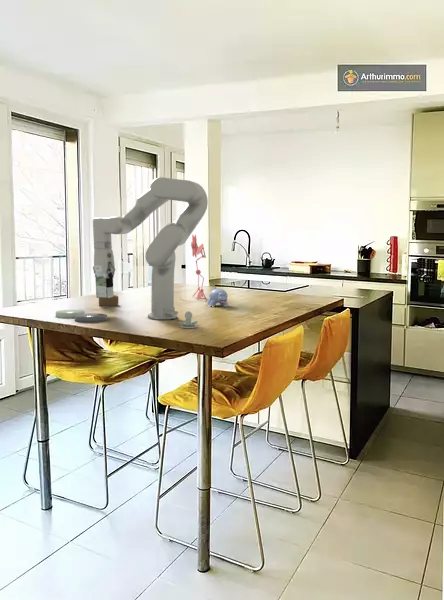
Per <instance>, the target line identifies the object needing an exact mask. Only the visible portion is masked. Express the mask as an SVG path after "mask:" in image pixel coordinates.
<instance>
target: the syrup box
mask: <svg viewBox="0 0 444 600" xmlns="http://www.w3.org/2000/svg"><path fill="white" fill-rule="evenodd" d="M108 267H109V266H108ZM107 271H109V270H108V269H107ZM108 275H109V273H108ZM94 278H95V295H96V296H95V297H96V299H97V298H98V299H99V298H111V297H114V295H115V294H114V286H113V287H109V288H107V287H106V278H107V277H106V274H105V273H104V272H103V271H102V267H101V266H100V265H95V274H94Z"/></svg>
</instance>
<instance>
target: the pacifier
mask: <svg viewBox="0 0 444 600" xmlns="http://www.w3.org/2000/svg"><path fill="white" fill-rule="evenodd" d="M184 318H185V322H182V321H180V320H179V321H178V322H179V324H180V328H181V329H196V328H197V327H198V326H197V324H198V320H195V321H193V322H192V318H193V313H192V312H191V311H186V312H185V313H184Z"/></svg>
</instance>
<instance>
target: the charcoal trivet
mask: <svg viewBox="0 0 444 600" xmlns="http://www.w3.org/2000/svg"><path fill="white" fill-rule="evenodd" d="M74 321H75V322H78V323H84V324H85V323H86V324H87V323H89V324H91V323H92V324H93V323H102V322H106V321H108V315H107V314H105V313H97V312H96V313H95V312H94V313H90V312H89V313H88V312H87V313H85V314H78V315H75V318H74Z"/></svg>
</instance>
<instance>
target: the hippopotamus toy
mask: <svg viewBox="0 0 444 600" xmlns="http://www.w3.org/2000/svg"><path fill="white" fill-rule="evenodd" d="M213 287H214V288H213V289H212V290H211V291H210V292H209V295H208V296H209V298H208V300H207V302H206V304H205V306H207V305H209V306H213V307H212V308H215V307H214V306H216V305H217V303H218V304H219V306H222V307H224V306H229V307H230V305H229V302H228V292H227V291H225V290H224V289H222V288H217V286H215V285H213Z"/></svg>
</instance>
